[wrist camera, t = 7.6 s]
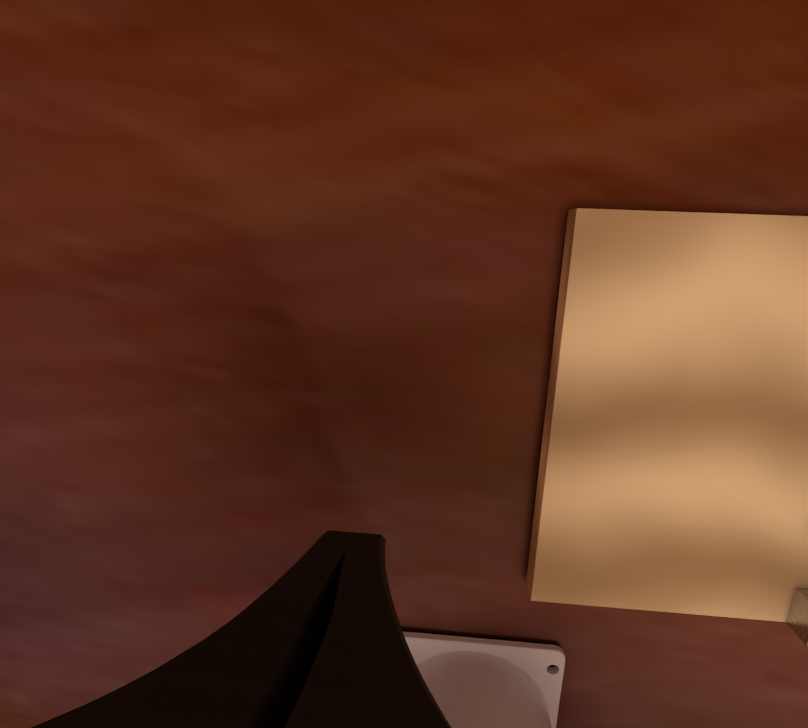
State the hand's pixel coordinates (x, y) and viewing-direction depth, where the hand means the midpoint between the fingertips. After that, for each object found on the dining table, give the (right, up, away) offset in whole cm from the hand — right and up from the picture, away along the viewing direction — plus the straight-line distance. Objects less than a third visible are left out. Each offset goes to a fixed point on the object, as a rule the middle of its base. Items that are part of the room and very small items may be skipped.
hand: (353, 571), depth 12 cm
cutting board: (+16, +2, +8) cm, 18 cm away
